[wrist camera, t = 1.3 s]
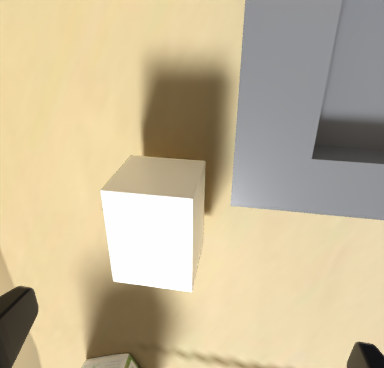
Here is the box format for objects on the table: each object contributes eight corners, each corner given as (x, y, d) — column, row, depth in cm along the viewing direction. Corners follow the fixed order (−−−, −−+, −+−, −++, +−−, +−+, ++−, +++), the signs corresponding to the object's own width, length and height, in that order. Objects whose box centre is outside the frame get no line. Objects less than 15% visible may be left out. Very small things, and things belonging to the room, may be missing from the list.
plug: (206, 229, 23) (192, 292, 18) (144, 222, 24) (113, 281, 19) (208, 151, 21) (192, 198, 15) (138, 146, 21) (100, 190, 16)
